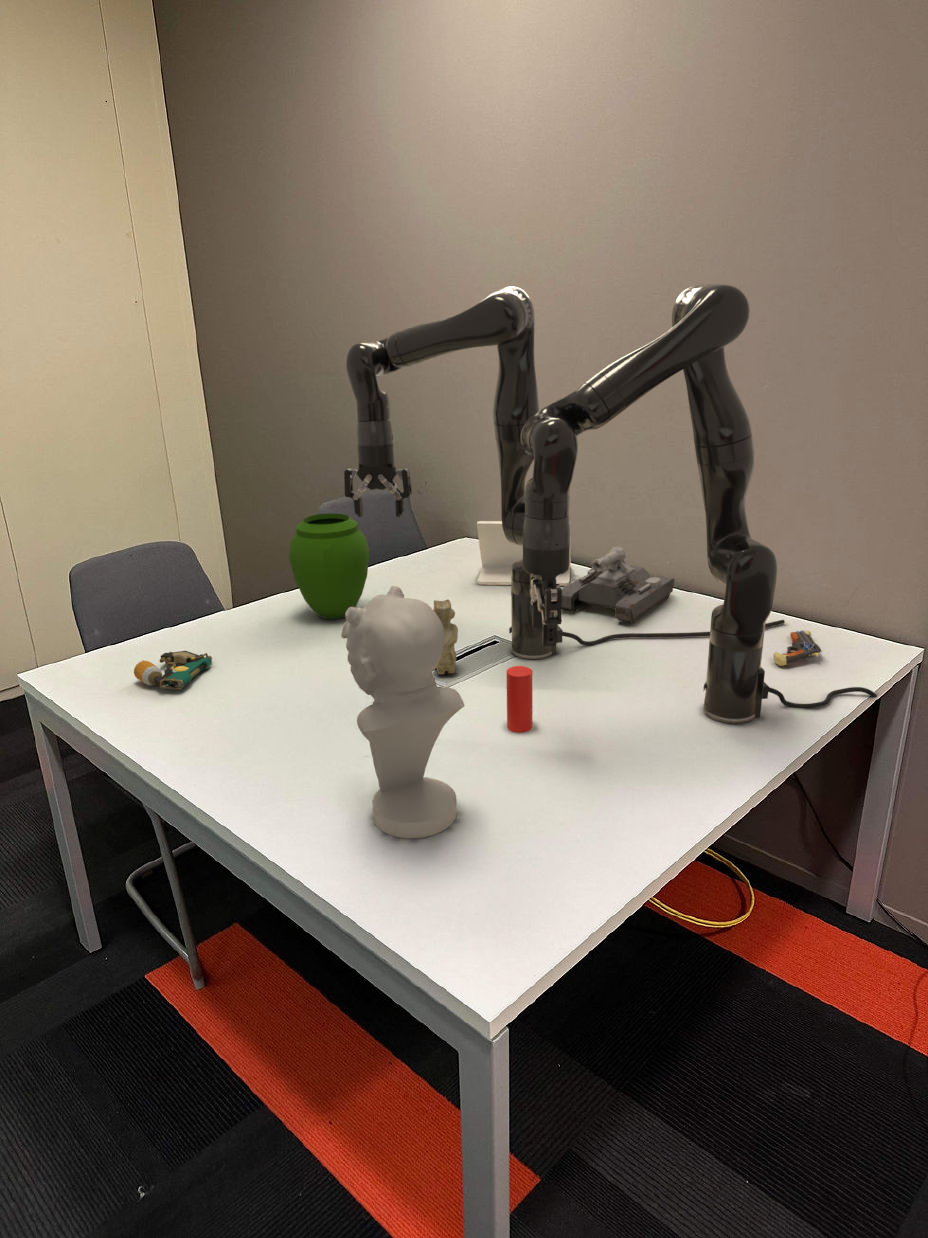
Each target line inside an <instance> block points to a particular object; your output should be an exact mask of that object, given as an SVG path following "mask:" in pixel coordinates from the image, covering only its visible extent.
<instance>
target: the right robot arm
mask: <svg viewBox="0 0 928 1238" xmlns="http://www.w3.org/2000/svg"><path fill="white" fill-rule="evenodd" d="M671 312H672V313H671V326H672V327H671V328H670V329H669V330H667V331H666V332H665V333H663V334H661V336H659V337H657V338H656V339H654V340H653V341H650V342H648V343H647V344H646V345H643V346H642V347H639V348H638V349H636V350H634V351H632V352H630V353H628V354H625V355H624V356H622V357H620V358H618V359H616V360H615V361H614V362H612V363H610V364H608V365H607V366H605V367H604V368H603V369H601V370H600V371H599V372H597V373H595V375H593V376H592V377H590V378H589V379H588V380H586V381H585V382H584V383H583V384H581V385H580V386H579V387H578V388H576V389H575V390H574V391H573V392H571V393H569V394H567V395H565V396H563V397H560V399H557V400H556V401H554V402H552V403H550V404H548V405H546V406H545V407H543V408H540V409H539V410H540V411H538V412H537V413H536V414H534V415H533V416H532V417H531V418H530V419H529V420H528V421H527V422H526V423H525V425H524V427H523V429H522V431H521V444H522V447H523V449H524V450H525V451H526V452H527V453H528V454H529V455H530V456H532V457H534V461H533V469H532V477H531V478H530V479H529V480H528V481H527V482H526V484H525V519H524V525H523V570H524V571H525V572H527V573H529V574H530V592H529V597H530V599H531V603H532V605H534V606H533V616H532V625H533V627H535V628H541V627H543V635H542V643H543V645H544V646H555V645H556V643H557V625H558V626H560V625H562V623H563V619H562V611H563V610H562V588H561V587H560V586H559V583H556V577H557V576H558V575H560V574H563V573H565V572H567V571H568V569H569V547H570V548H571V523H570V524H569V522H570V487H571V485H572V481H573V477H574V473H575V469H576V463H577V459H578V451H579V445H578V443H579V442H578V436H580V435H581V434H583V433H584V432H587V431H594V430H598V429H600V428H602V427H603V426H605V425H607V424H608V423H609V422H611V421H612V420H613V419H615V418H616V417H618V415H620V414H621V413H623V412H624V411H625V410H627V409H628V408H629V407H630V406H631V405H633V404H634V403H636V402H637V401H639V400H640V399H641V398H643V397H644V396H646V394H648V393H650V392H651V391H652V390H654V389H655V388H657V387H658V386H660V385H661V384H662V383H664V382H666V380H668V379H670V378H672V377H673V376H674V375H676V374H678V373H679V372H681V371H682V372H683V375H684V380H685V386H686V393H687V401H688V407H689V408H688V409H689V415H690V419H691V427H692V433H693V435H692V436H693V443H694V450H695V457H696V464H697V465H696V466H697V469H698V475H699V480H700V487H701V493H702V500H703V507H704V513H705V526H706V527H705V529H706V554H707V556H706V557H707V565H708V569H709V571H710V573H711V575H712V576H713V578H714V579H715V580H716V581H717V582H719V583H721V584H722V585H724V586H725V590H724V598H723V604H719V605H717V606H715V607H714V608H713V610H712V611H711V615H710V628H709V629H710V630H709V632H710V636H709V639H708V640H709V642H708V656H707V666H706V667H707V668H706V679H705V682H704V684H703V689H702V690H703V692H705V694H704V703H703V710H702V711H703V713H704V714H705V715H706V716H707V717H708V718H709V719H712V720H714V721H716V722H720V723H724V724H734V725H739V724H740V725H741V724H746V723H749V722H752V721H754V720H755V719H760V718H761V713H762V706H763V705H762V703H763V700H768V699H769V693H771V694H773V695H775V696H777V697H778V699H779V701H780V703H781V704H783V705H784V706H786V707H789V708H795V709H807V710H808V709H815V708H822V707H824V706H827V705H828V704H830V702H831V700H832V698H833V697H834V696H838V695H842V694H847V693H857V692H858V693H864V694H867V695H869V696H870V697H872V698H877V697H878V695H877V694H876V693H875V692H874V691H873V690H871V689H869V688H868V687H867V688H866V687H861V686H851V687H844V688H840V689H835V690H832V691H830V692H828V694H826V697H825V699H824V700H822V701H818V702H811V703H795V702H791V701H788V700H786V699H785V695H784V693H782V692H781V691H779V690H778V689H775V688H774V687H770V686H769V685H768V684H767V683H766V682H765V676H766V671H765V669H764V668H763V667H762V658H763V649H764V640H765V639H764V638H765V629H766V628H765V624H766V623H767V620H768V618H769V616H770V615H771V612H772V609H773V605H774V598H775V592H776V584H777V579H778V560H777V557H776V555H775V553H774V551H773V550H772V549H771V548H770V547H768V546H767V545H765V544H763V543H761V542H760V541H757V540H755V539H754V538H752V536H751V533H750V529H749V524H748V516H747V509H746V501H747V495H748V491H749V488H750V485H751V481H752V478H753V475H754V471H755V464H756V456H755V455H756V453H755V446H754V437H753V429H752V424H751V420H750V417H749V414H748V411H747V409H746V407H745V405H744V403H743V400H742V399H741V397H740V395H739V393H738V392H737V389H736V387H735V385H734V382H733V381H732V378H731V376H730V373H729V369H728V366H727V360H726V353H725V352H726V351H725V347H726V346H728V345H730V344H732V343H733V342H735V341H736V340H737V339H738V338H739V337H740V336H741V335H742V334H743V332H744V331H745V329H746V327H747V325H748V323H749V319H750V312H751V309H750V302H749V300H748V298H747V295H745V292H743V291H742V290H741V289H740V288H738V287H736V286H734V285H731V284H726V283H710V284H709V283H708V284H697V285H693V286H689V287H688V288H685V289H684V290H683V291H682V292H681V293H680V294H679V295H678V297H677V298H676V300H675V302H674V304H673V308H672V311H671ZM550 611H552V612H553V613H554V617H549V612H550ZM557 644H558V643H557Z"/></svg>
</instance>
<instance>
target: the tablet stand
mask: <svg viewBox="0 0 928 1238" xmlns="http://www.w3.org/2000/svg"><path fill="white" fill-rule="evenodd" d="M569 524H570V525H571V522H570V521H569ZM476 531H477V537H478V544H479V551H480V557H481V558H480V559H481V570H480V573H479V575H478V577H477V580H476V581H477V582H476V584H478V585H484V586H485V585H486V586H487V585H489V586H490V585H491V586H511V567H512V565H513V563H515V562H516V561H519V560H522V559H523V546H522V545H516V544H512V543H510V542H509V541H507V539H506V538H505V536H504V533H503V528H502V520H477V522H476ZM571 560H572V558H571V546H570V547H569V569H568V571H567V572H565V573H563V574H560V575H558V576H557V577H556V583H559V587H566V586H567V585H569V584H570V580H571V579H570V578H571V565H572V564H571Z"/></svg>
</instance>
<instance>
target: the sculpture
mask: <svg viewBox="0 0 928 1238" xmlns="http://www.w3.org/2000/svg"><path fill="white" fill-rule="evenodd" d="M433 611H434V612H435V613H436V614H437V615H438V617H439V619H440V620H441V623H442V625H443V628H444V634H445V636H444V647H443V652H442V656H441V659H440V662H439V664H438V666H437V667H436V668H435V669H436V671H437V674H438V675H445V674H446V672H447V673H448V674H455V673H456V666H457V665H456V663H457V652H456V649H455V644H456V643H457V642H458V637H459V635H458V634H459V627H458V626H457V624H455V623H453V622H451V621H452V620H453V619H454V618H455V615H456V611H455V609H453V608H452V602H451V601H450V599H445V600H433Z"/></svg>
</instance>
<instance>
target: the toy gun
mask: <svg viewBox="0 0 928 1238" xmlns="http://www.w3.org/2000/svg"><path fill="white" fill-rule="evenodd" d="M790 638H791V641H792V642H791V645H790V646H787V647H786V649H787V651H786V653H780V652H777V651H775V652H773V653H772V656H773V660H774V662H775V664H776V665H778V666H780V667H781V666H782V667H783V666H786V665H790V664H795V663H797V662H800V661H804V660H807V659H810V658H811V657H815V656H816V657H819V656H820V654H821V653H823V650H822V649H821V647H820V645H818V644H817V643H816V642H815V641H814V640H813V638H812V632H811V630H800V631H799V630H796V631H791V632H790Z"/></svg>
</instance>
